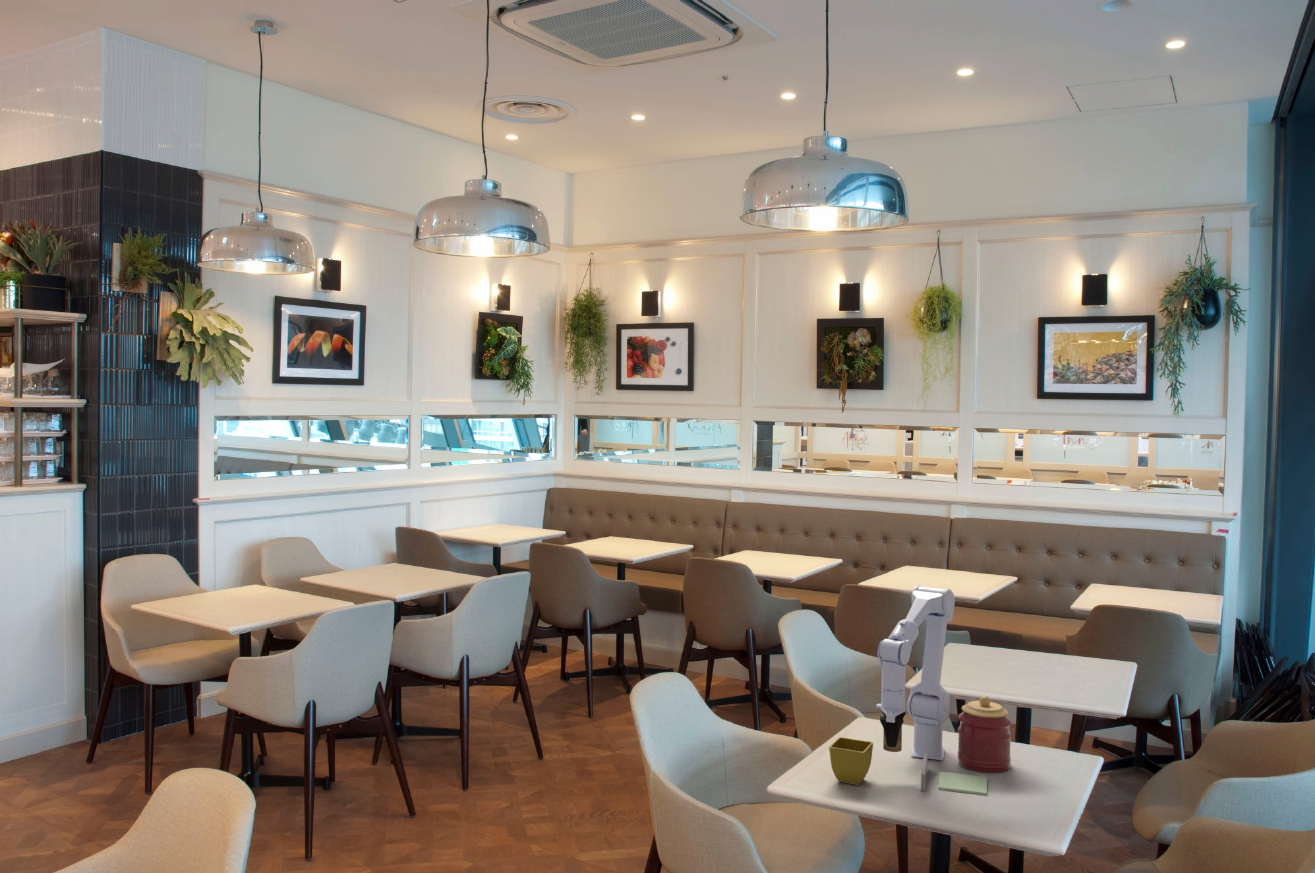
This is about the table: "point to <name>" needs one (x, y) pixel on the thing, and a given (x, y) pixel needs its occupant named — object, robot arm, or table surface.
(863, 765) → the flower pot
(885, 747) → the walnut cylinder
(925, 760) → the grey wall
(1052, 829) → the table surface
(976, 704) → the canister
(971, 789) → the green mat
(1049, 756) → the table surface
